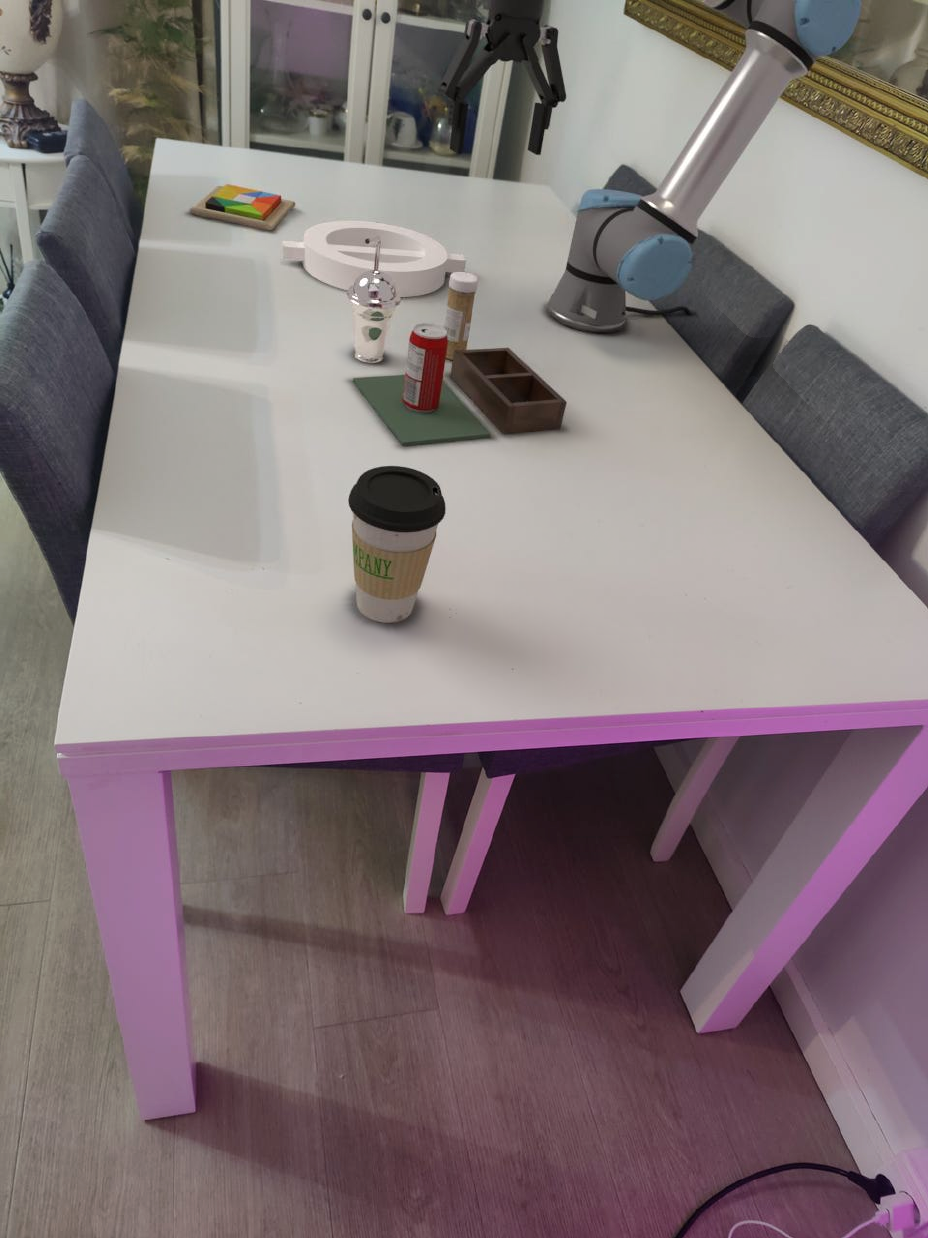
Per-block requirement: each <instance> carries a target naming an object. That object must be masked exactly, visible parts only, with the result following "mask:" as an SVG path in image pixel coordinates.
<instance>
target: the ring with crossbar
mask: <svg viewBox="0 0 928 1238" xmlns="http://www.w3.org/2000/svg"><path fill="white" fill-rule="evenodd" d="M375 236H379V237H380V239H381V247H380V258H379V269H378V270H379V271H382V272H384V273H386V274H387V275H388V276H389V277H391V279H392V280H393V282H394V284H395V286H396V290H397V292H399V294H400V296H401V298H411V297H419V296H424V295H427V294H430V293H434V292H435V291H438V290H439V289H440V288H441V287H442V286H443V285H444V284H445V281H446V280H445V279H446V273H454V272H466V264H467V260H466V258H465V256H464V255H463V254H458V253H448V251H447V249H446V248H445V247H444V246H443V245H442V244H441V243H439V242H438V241H436V240H435V239H433V238H431V237H430V236H428V235H426V234H423V233H421V232H418V231H415V230H412V229H409V228H406V227H401V226H398V225H393V224H388V223H382V222H376V221H368V220H367V221H365V220H334V221H326V222H322V223H317V224H315V225H313V226H310V227H309V228H308V229H306V230H305V231H304V233H303V238H302V239H303V240H302V241H293V240H281V256H282V260H287V261H288V260H289V261H301V262H302V266H303V268H304V269H305V271H306V272H307V273H308V274H309V275H310V276H312V277H314V278H315V279H316V280H318V281H320V282H323V283H324V284H326V285H329V286H331V287H334V288H337V289H341V290H344V291H347V292H348V289H349V287H350V286H352V285H353V284H354V282H355V280H356V279H357V277H358V276H359V275H360V274H362V273H364V272H366V271H369V270H374V263H375V251H376V242H373V243H369V244H366V243H365V240H366V239H368V238H372V237H375Z"/></svg>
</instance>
